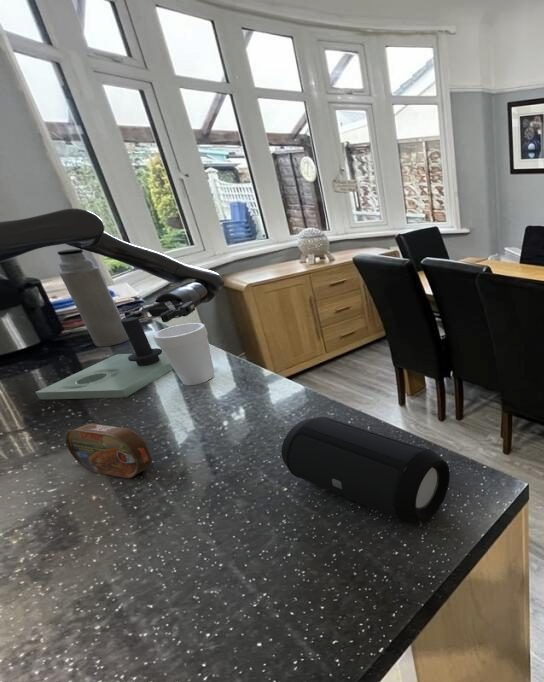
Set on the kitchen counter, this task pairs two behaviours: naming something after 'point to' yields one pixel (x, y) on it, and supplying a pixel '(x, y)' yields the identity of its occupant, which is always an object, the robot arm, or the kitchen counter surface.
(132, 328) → the stopper
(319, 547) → the kitchen counter surface
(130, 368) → the plate
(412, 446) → the portable speaker
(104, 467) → the tin
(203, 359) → the foam cup
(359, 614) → the kitchen counter surface
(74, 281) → the thermos bottle
